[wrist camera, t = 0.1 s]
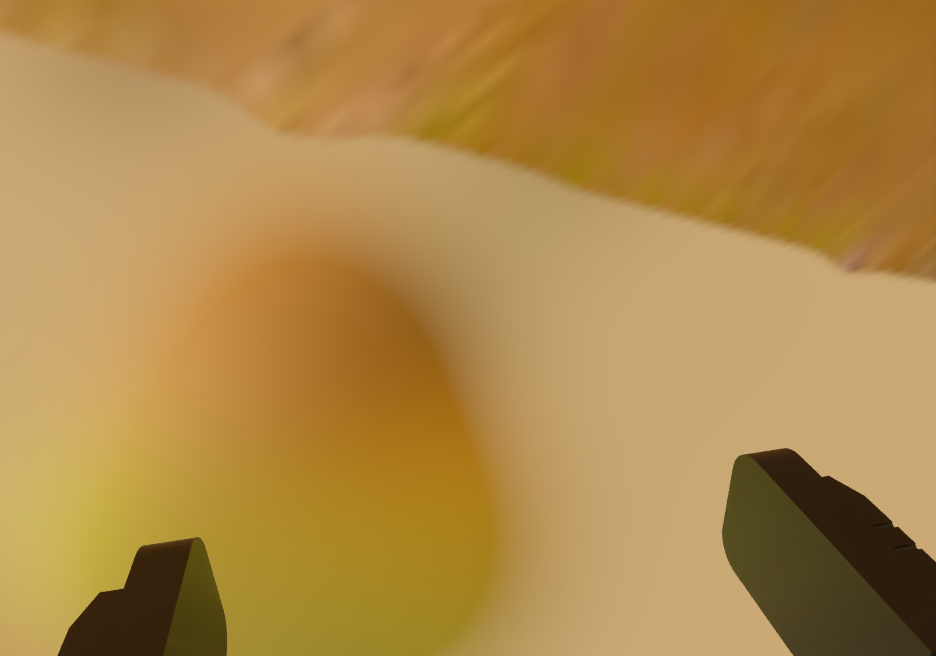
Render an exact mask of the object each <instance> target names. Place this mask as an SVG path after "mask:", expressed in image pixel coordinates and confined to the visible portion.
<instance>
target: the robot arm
mask: <svg viewBox="0 0 936 656" xmlns="http://www.w3.org/2000/svg"><path fill="white" fill-rule="evenodd" d="M722 537H723V545H724V549H725V553H726V556H727V558H728V561H729V563H730V565H731V567H732V569H733V570H734V572H735V573H736V575H737V576H738V578H739V579H740V581H741V582H742V583H743V585H744V586H745V588H746V589H747V591H748V592H749V593H750V595H751V596H752V598H753V599H754V600H755V602H756V603H757V605H758V606H759V607H760V609H761V610H762V612H763V613H764V615H765V616H766V617H767V619H768V620H769V622H770V623H771V624H772V626H773V627H774V629H775V630H776V632H777V633H778V634H779V636H780V637H781V639H782V640H783V642H784V643H785V644H786V646H787V647H788V649H789V650H790V652H791V653H792V654H793V656H936V562H935V561H934V560H933V559H932V558H931V557H930V556H929V555H928V554H927V553H925V552H924V551H923V550H922V549H917V548H916V545H915V542H914V541H913V540H911V539H910V538H909V537H908V536H907V535H906V534H905V533H904V532H903V531H902V530H901V529H900V528H899V527H894V526H893V524H892V521H891V520H890V519H889V518H888V517H887V516H886V515H885V514H883V513H882V512H881V511H880V510H879V509H878V508H877V507H876V506H875V505H874V504H872V502H871V501H870V500H868V499H867V498H866V497H865V496H864V495H862V494H860V493H858V492H856V491H855V490H853V489H851V488H849V487H848V486H846V485H844V484H842V483H841V482H839V481H837V480H835V479H833V478H832V477H830V476H825V477H821V476H820V475H819V474H818V473H817V472H816V471H815V470H814V469H813V468H812V467H811V466H810V465H809V464H808V463H807V462H806V461H805V460H804V459H803V458H801V457H800V456H799V455H798V454H797V453H796V452H795V451H793V450H791V449H787V448H783V449H777V450H771V451H764V452H758V453H752V454H745V455H740V456H739V457H737V459H736V460H735V463H734V466H733V471H732V476H731V482H730V488H729V494H728V499H727V506H726V512H725V517H724V523H723V529H722ZM226 655H227V630H226V620H225V615H224V610H223V607H222V604H221V600H220V597H219V593H218V590H217V586H216V583H215V579H214V576H213V572H212V569H211V565H210V562H209V558H208V555H207V551H206V548H205V545H204V543H203V541H202V540H201V539H200V538H198V537H196V538H191V539H184V540H177V541H171V542H165V543H158V544H151V545H144V546H142V547H140V548H139V550H138V551H137V553H136V556H135V558H134V561H133V564H132V567H131V570H130V572H129V575H128V578H127V581H126V584H125V587H124V589H119V590H113V591H107V592H100V593H99V594H98V595H97V596H96V597H95V599H94V600H93V601H92V602H91V603H90V604H89V606H88V607H87V608H86V609H85V610H84V611H83V613H82V614H81V615H80V616H79V618H77V620H76V621H75V622H74V623H73V624H72V625H71V627H70V628H69V630H68V632H67V635H66V637H65V639H64V642H63V644H62V646H61V649H60V651H59V653H58V656H226Z"/></svg>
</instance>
